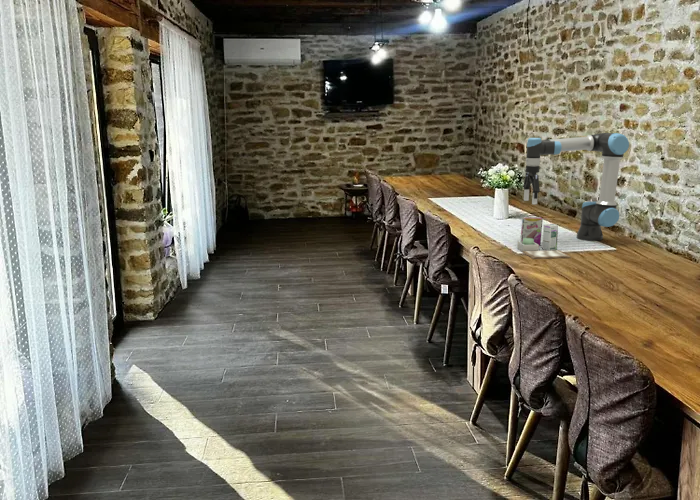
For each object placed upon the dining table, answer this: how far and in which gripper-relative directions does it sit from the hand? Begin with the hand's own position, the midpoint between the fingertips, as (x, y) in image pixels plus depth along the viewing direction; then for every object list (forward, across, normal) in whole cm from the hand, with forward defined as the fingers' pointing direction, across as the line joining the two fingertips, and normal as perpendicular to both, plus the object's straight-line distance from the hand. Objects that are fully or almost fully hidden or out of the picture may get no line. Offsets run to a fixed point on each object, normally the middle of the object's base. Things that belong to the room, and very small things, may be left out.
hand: (530, 202), depth 351 cm
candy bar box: (+26, -4, +3) cm, 27 cm away
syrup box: (+26, +9, +10) cm, 29 cm away
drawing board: (+26, +23, +2) cm, 35 cm away
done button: (+23, +10, -3) cm, 26 cm away
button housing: (+26, +10, -3) cm, 28 cm away
